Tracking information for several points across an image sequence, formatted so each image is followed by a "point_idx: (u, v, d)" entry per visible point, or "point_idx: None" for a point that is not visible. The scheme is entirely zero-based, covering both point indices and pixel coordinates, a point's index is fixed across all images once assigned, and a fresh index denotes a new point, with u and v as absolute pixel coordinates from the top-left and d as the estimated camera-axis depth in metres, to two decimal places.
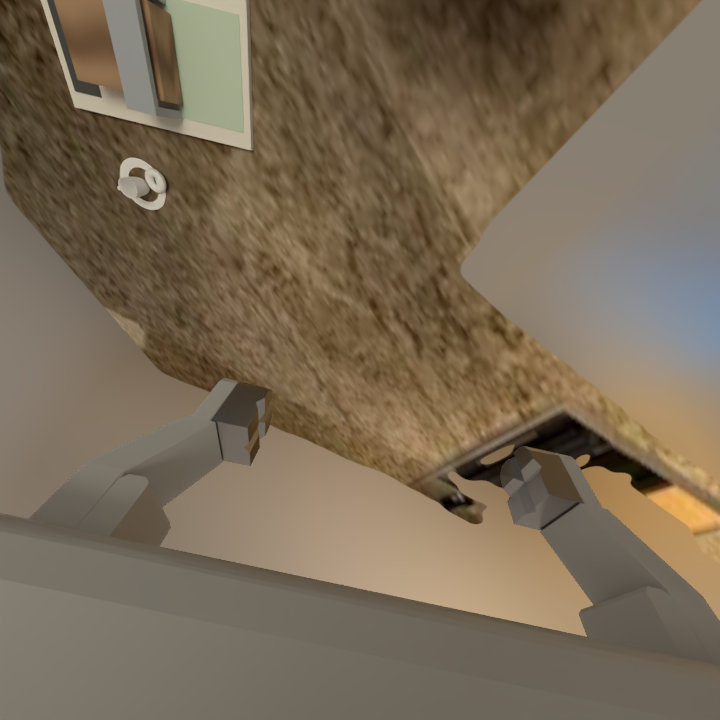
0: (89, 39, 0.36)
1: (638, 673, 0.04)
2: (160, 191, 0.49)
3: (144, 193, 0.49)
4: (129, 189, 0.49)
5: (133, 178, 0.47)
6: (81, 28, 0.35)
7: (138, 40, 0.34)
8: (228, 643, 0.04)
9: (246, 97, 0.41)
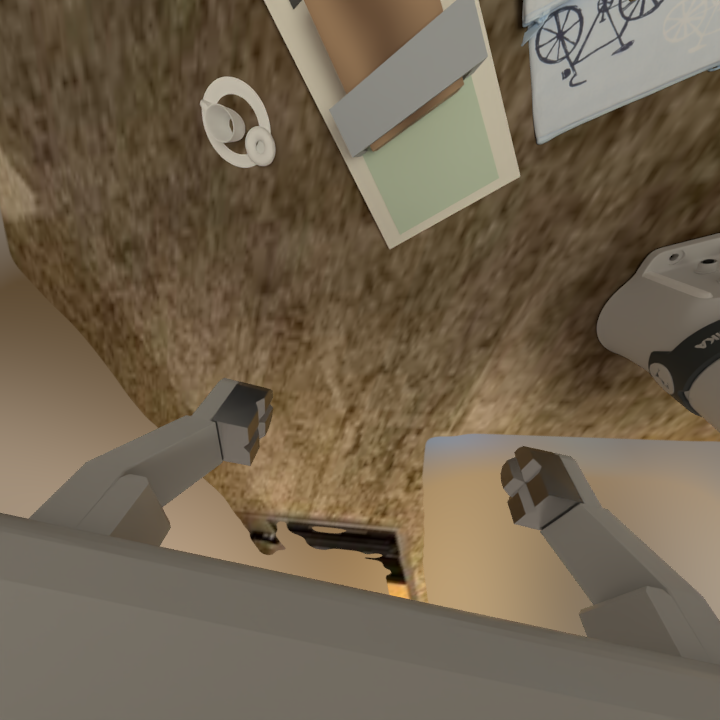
0: None
1: (638, 673, 0.04)
2: (255, 162, 0.33)
3: None
4: (215, 116, 0.30)
5: (237, 121, 0.30)
6: None
7: (419, 100, 0.24)
8: (228, 643, 0.04)
9: (433, 221, 0.34)
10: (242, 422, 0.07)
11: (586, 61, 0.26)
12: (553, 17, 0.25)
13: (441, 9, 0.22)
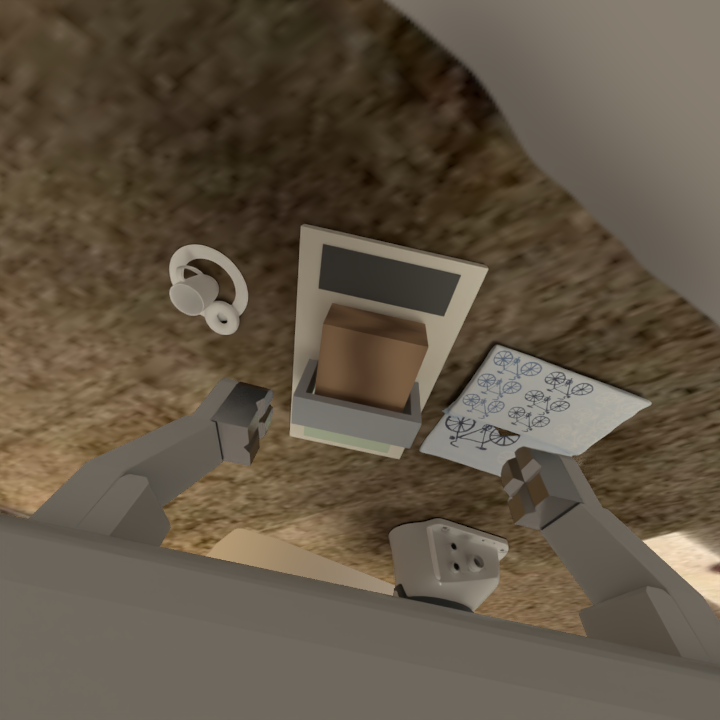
0: (366, 365, 0.25)
1: (638, 673, 0.04)
2: (208, 324, 0.30)
3: (192, 301, 0.28)
4: None
5: (209, 304, 0.27)
6: (376, 361, 0.25)
7: (358, 434, 0.29)
8: (228, 643, 0.04)
9: (332, 443, 0.40)
10: (242, 422, 0.07)
11: (463, 440, 0.37)
12: None
13: (404, 404, 0.28)
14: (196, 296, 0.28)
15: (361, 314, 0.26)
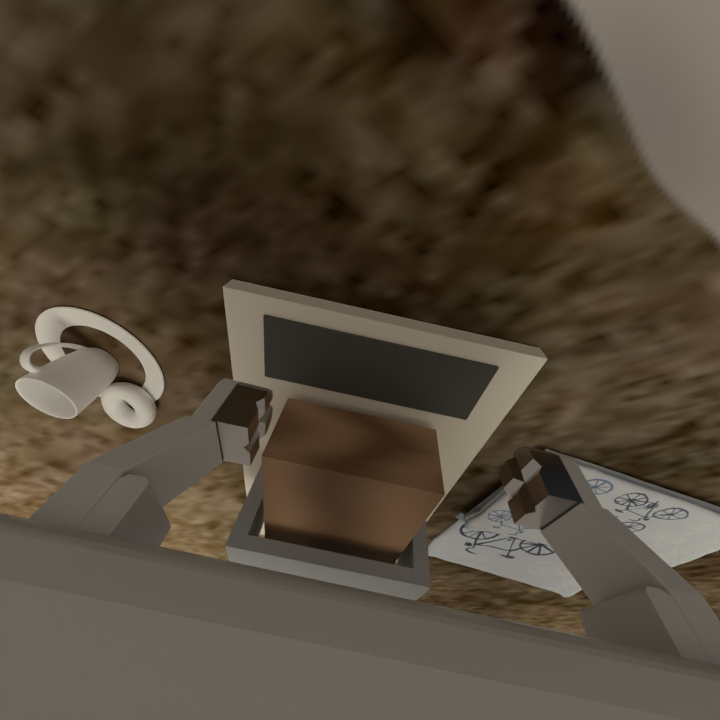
0: (340, 507, 0.15)
1: (638, 673, 0.04)
2: (108, 414, 0.20)
3: None
4: None
5: (92, 398, 0.17)
6: (357, 504, 0.15)
7: None
8: (228, 643, 0.04)
9: None
10: (242, 422, 0.07)
11: (484, 547, 0.27)
12: None
13: (402, 549, 0.18)
14: None
15: (334, 419, 0.16)
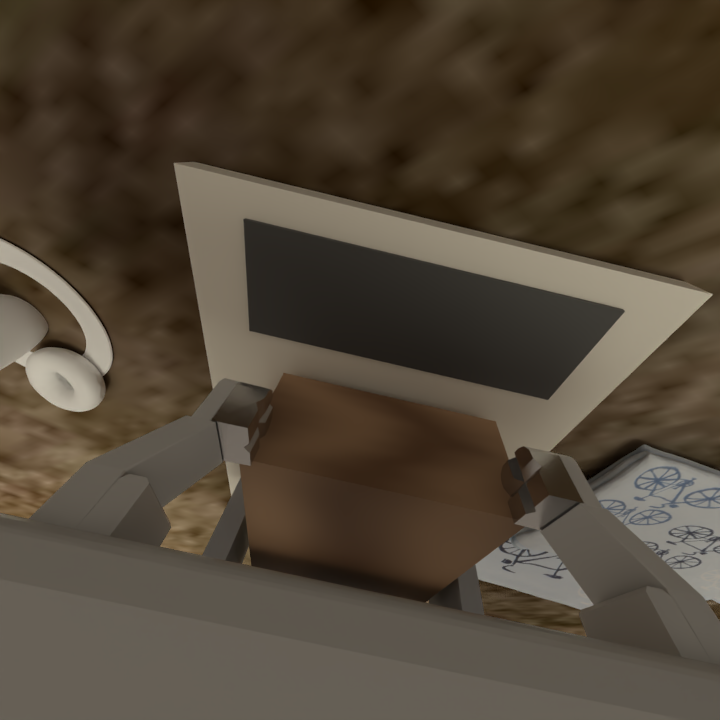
0: (359, 533, 0.10)
1: (638, 673, 0.04)
2: (38, 392, 0.15)
3: None
4: None
5: None
6: (385, 530, 0.10)
7: None
8: (228, 643, 0.04)
9: None
10: (242, 422, 0.07)
11: (526, 565, 0.22)
12: None
13: (441, 588, 0.13)
14: None
15: (350, 404, 0.11)
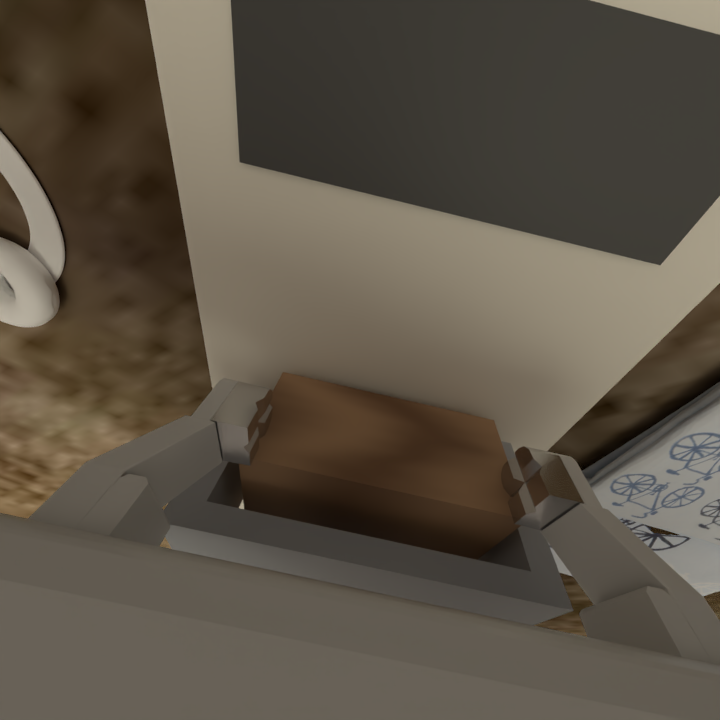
0: (358, 532, 0.10)
1: (638, 673, 0.04)
2: None
3: None
4: None
5: None
6: (384, 528, 0.10)
7: None
8: (228, 643, 0.04)
9: None
10: (242, 422, 0.07)
11: None
12: None
13: None
14: None
15: (349, 402, 0.11)
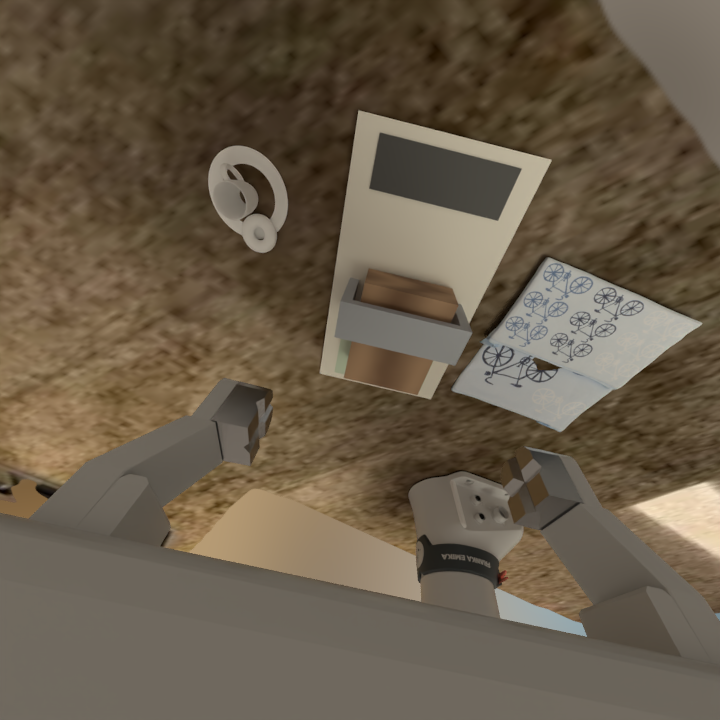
0: None
1: (638, 673, 0.04)
2: (244, 240, 0.29)
3: (232, 210, 0.27)
4: (230, 182, 0.25)
5: (250, 209, 0.26)
6: None
7: (403, 349, 0.28)
8: (228, 643, 0.04)
9: None
10: (242, 422, 0.07)
11: (499, 376, 0.37)
12: (502, 345, 0.34)
13: (431, 363, 0.30)
14: (235, 206, 0.27)
15: (396, 277, 0.28)
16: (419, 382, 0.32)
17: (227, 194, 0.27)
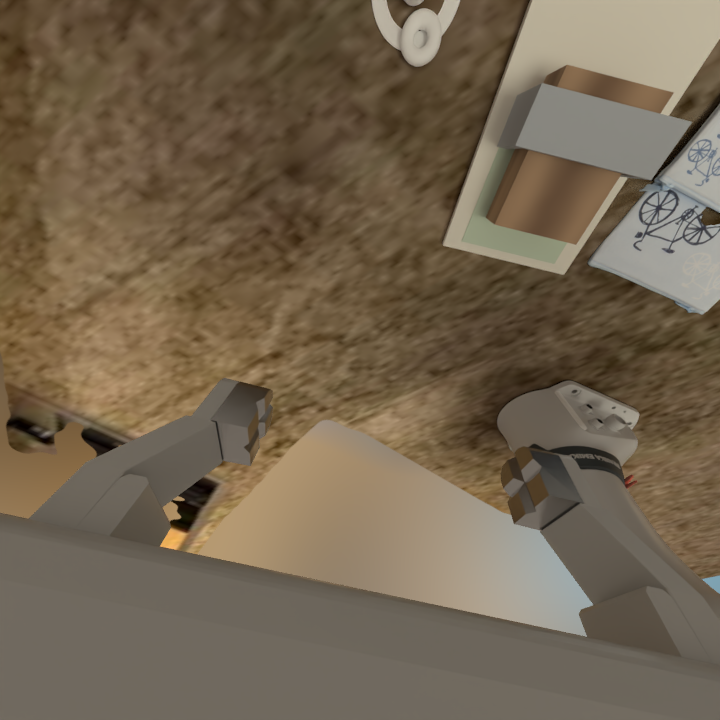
0: None
1: (637, 672, 0.04)
2: (403, 47, 0.26)
3: None
4: None
5: None
6: None
7: (595, 158, 0.24)
8: (228, 643, 0.04)
9: (491, 253, 0.35)
10: (242, 422, 0.07)
11: (651, 238, 0.33)
12: (667, 192, 0.31)
13: (609, 191, 0.27)
14: None
15: None
16: (584, 223, 0.29)
17: None
